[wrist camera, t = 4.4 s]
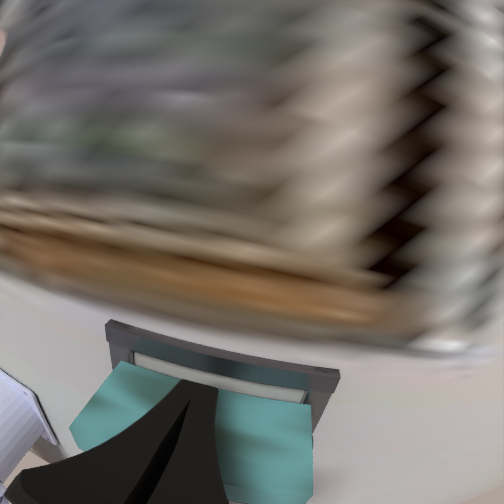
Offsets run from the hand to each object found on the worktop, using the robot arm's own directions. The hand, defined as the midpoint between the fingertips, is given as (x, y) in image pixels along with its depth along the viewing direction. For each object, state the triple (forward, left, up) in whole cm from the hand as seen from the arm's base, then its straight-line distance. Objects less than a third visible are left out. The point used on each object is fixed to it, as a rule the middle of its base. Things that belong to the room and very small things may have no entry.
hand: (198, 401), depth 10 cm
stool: (0, -8, -3) cm, 8 cm away
